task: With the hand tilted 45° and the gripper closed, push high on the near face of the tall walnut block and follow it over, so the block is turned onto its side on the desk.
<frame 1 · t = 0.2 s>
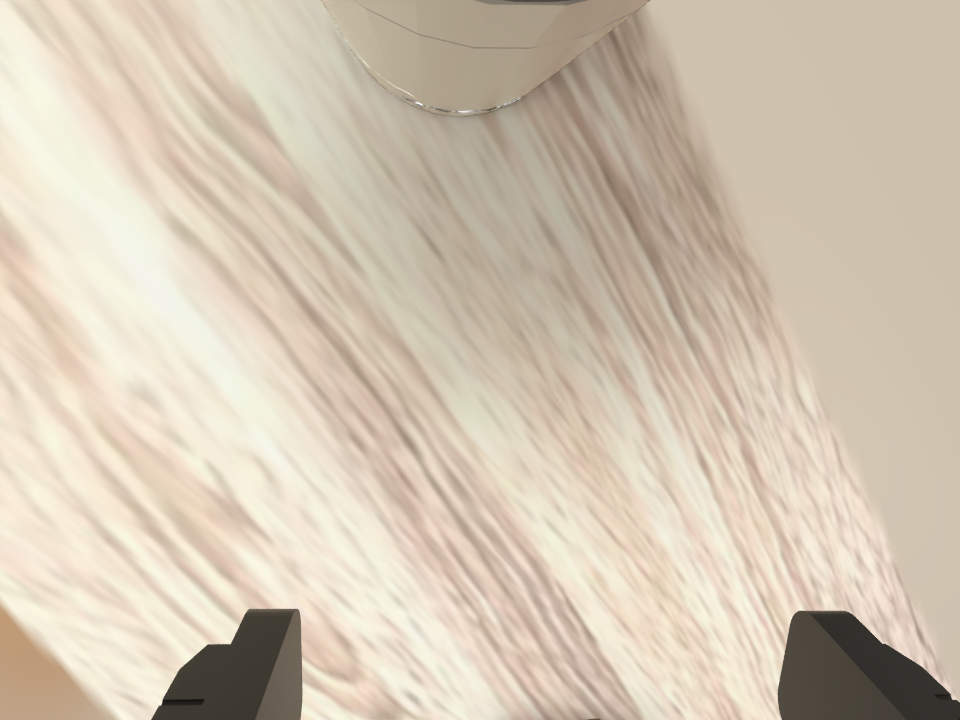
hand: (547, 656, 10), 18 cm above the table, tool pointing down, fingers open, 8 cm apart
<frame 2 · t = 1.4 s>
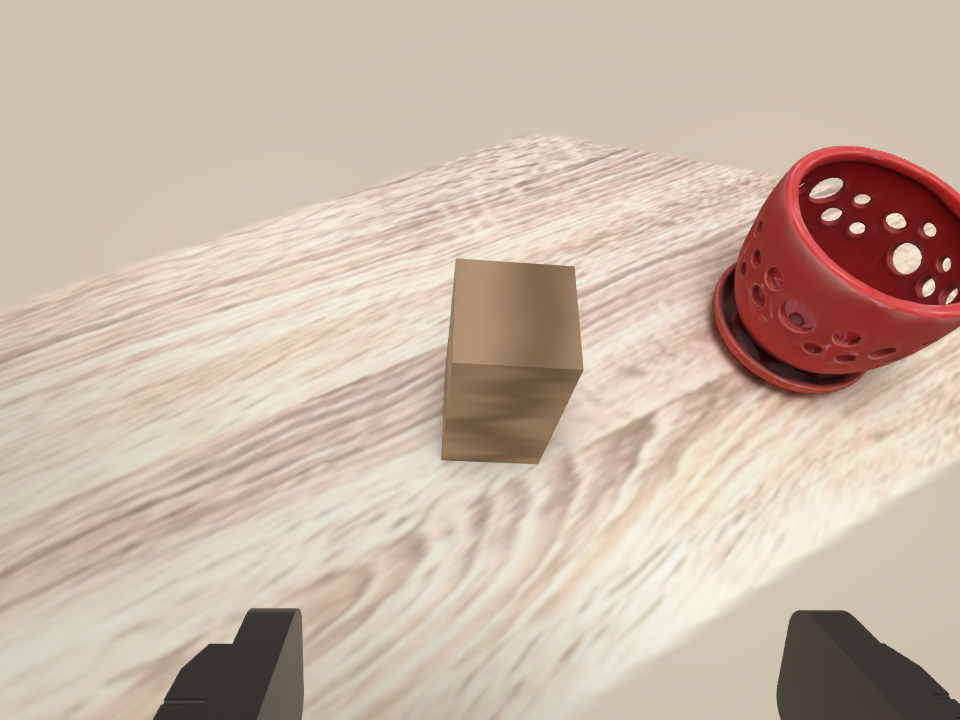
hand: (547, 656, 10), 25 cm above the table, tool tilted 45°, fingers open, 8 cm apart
plant pot: (785, 334, 46), on the table
walnut block: (489, 418, 40), on the table
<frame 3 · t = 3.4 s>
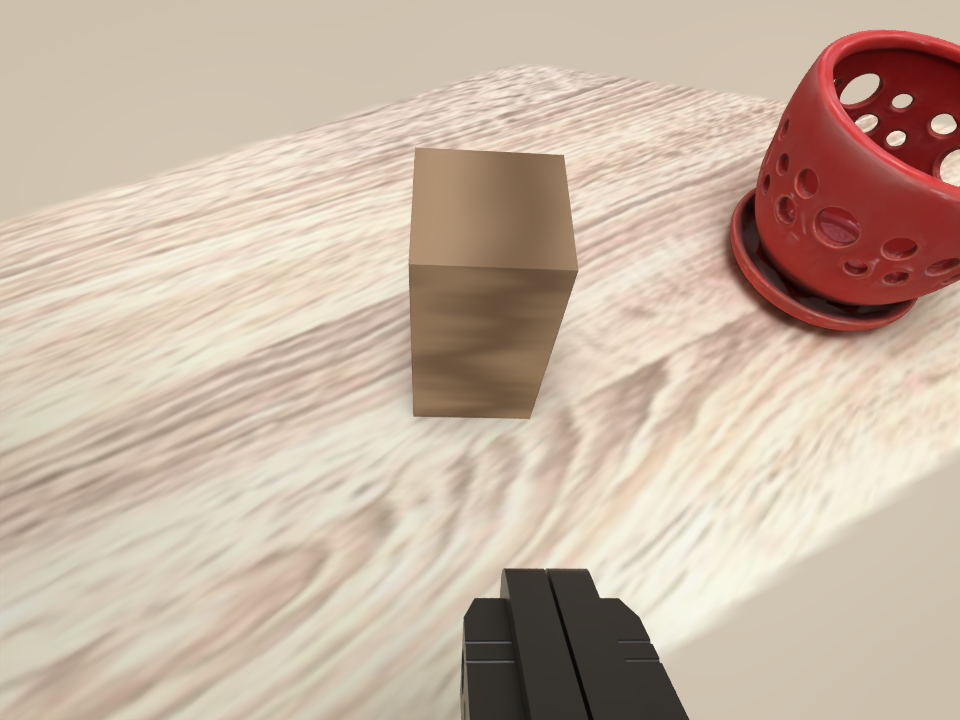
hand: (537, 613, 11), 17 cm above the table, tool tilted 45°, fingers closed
plant pot: (815, 269, 40), on the table
walnut block: (471, 367, 34), on the table
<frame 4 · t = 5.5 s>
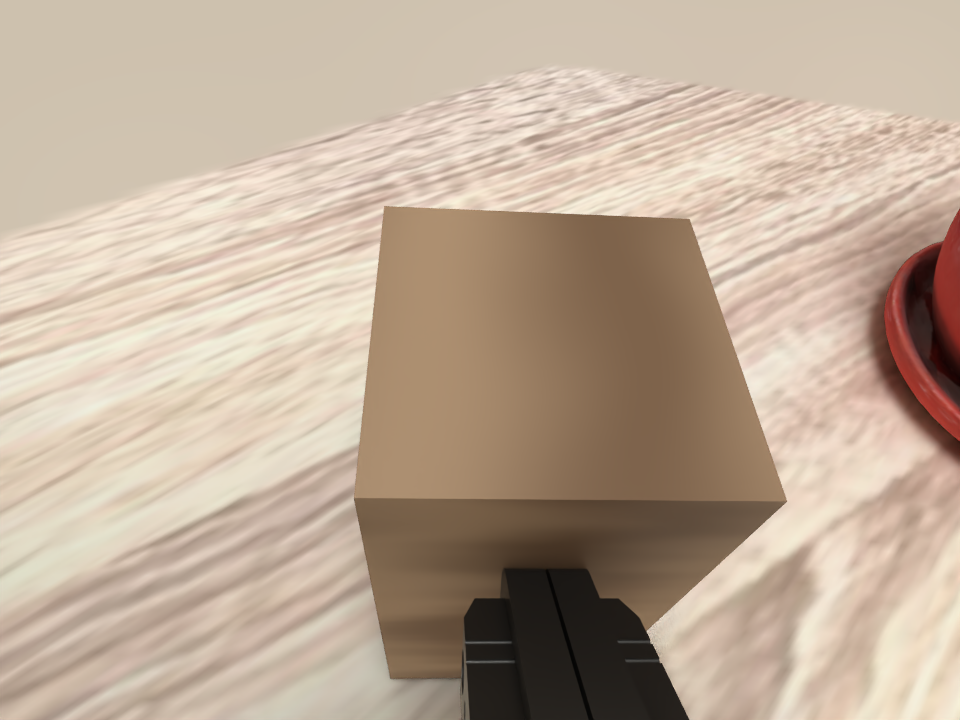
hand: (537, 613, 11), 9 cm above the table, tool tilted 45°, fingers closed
walnut block: (491, 573, 20), on the table, tilted 6°, touching gripper
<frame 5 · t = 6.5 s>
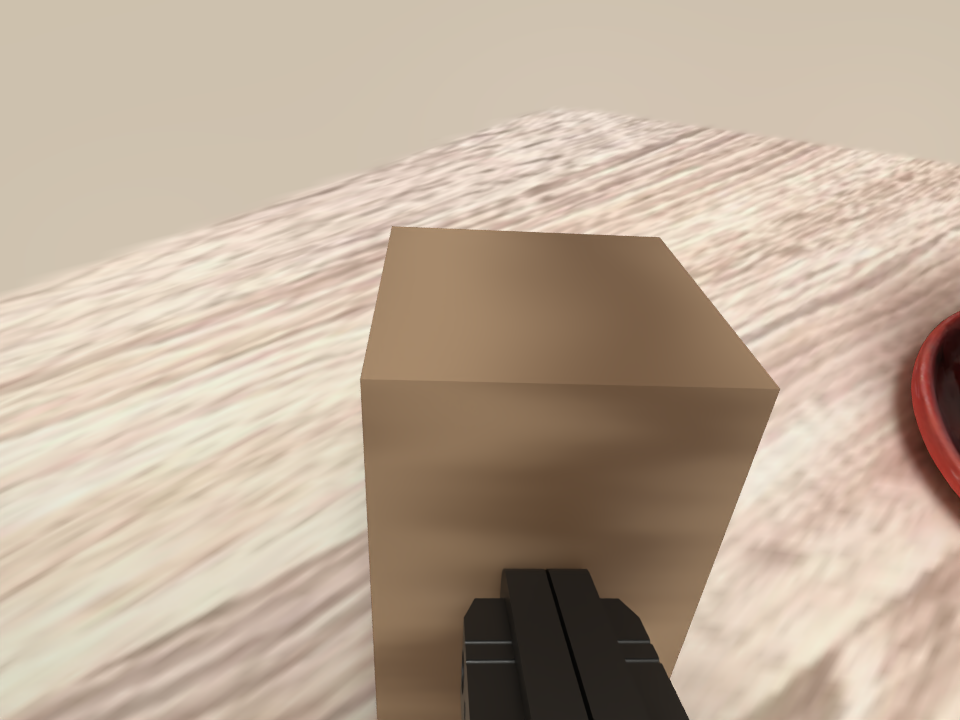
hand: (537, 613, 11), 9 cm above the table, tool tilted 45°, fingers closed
walnut block: (497, 674, 18), point 1 cm above the table, tilted 27°
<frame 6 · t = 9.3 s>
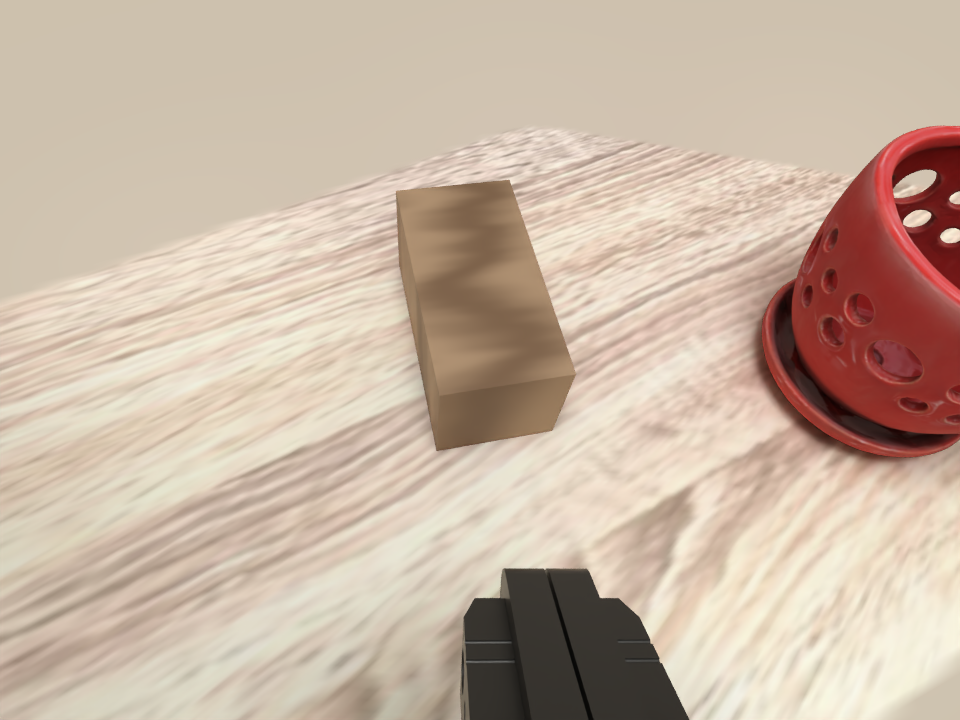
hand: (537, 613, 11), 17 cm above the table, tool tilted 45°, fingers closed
plant pot: (855, 374, 36), on the table
walnut block: (501, 415, 29), point 3 cm above the table, tilted 90°
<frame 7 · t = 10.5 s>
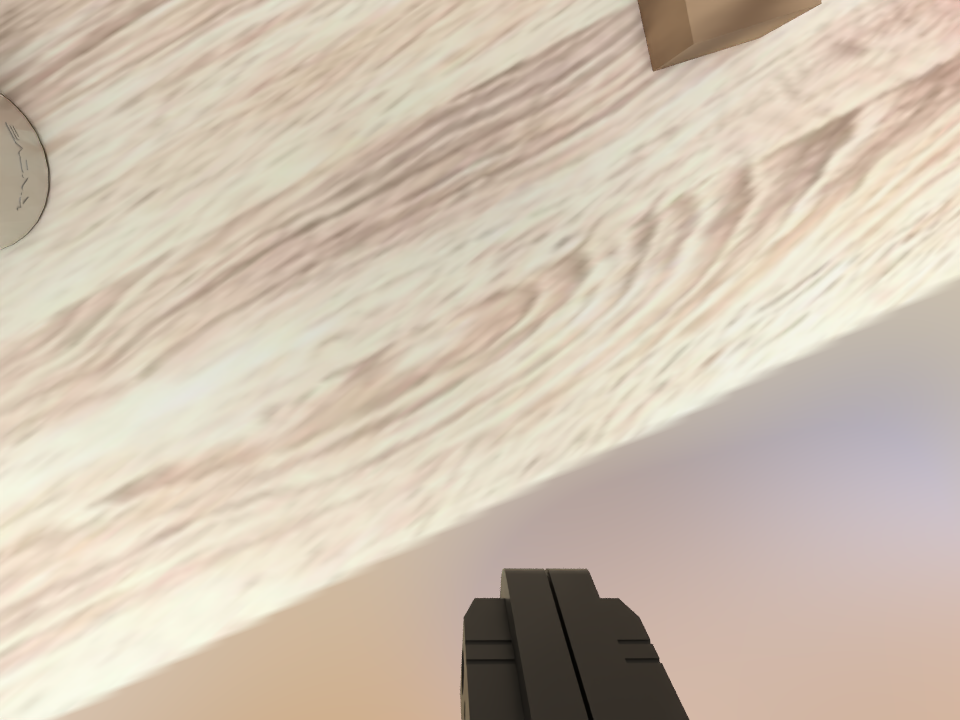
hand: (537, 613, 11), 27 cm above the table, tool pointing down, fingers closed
walnut block: (728, 41, 31), point 3 cm above the table, tilted 90°
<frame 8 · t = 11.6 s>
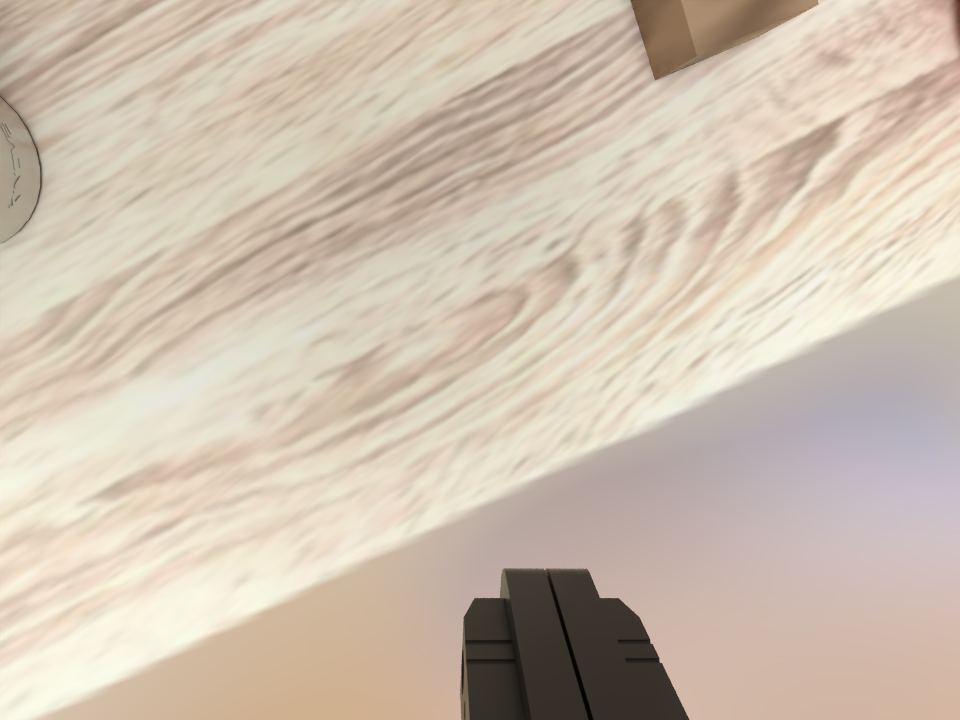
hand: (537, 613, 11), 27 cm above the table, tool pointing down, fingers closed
walnut block: (728, 46, 32), point 3 cm above the table, tilted 90°
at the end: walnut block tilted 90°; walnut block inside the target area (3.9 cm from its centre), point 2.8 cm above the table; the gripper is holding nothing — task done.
